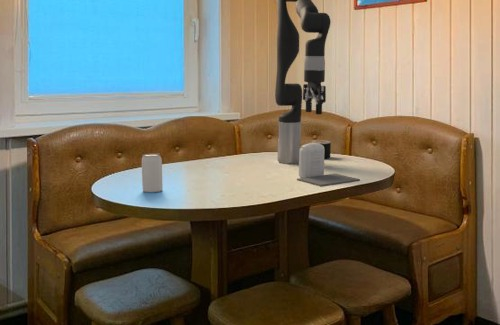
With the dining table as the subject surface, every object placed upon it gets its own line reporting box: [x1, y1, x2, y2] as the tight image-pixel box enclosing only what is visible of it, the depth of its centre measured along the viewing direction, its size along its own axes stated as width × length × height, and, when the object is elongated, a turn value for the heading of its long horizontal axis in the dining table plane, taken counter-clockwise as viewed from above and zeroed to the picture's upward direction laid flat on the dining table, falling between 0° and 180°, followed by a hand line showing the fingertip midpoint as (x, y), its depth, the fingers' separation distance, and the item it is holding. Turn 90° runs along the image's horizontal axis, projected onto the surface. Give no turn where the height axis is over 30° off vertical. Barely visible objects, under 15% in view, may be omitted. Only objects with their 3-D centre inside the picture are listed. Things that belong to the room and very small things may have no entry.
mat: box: [296, 173, 361, 187], centre depth 196 cm, size 13×18×1 cm
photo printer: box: [298, 142, 325, 178], centre depth 203 cm, size 10×4×12 cm, turn 123°
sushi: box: [311, 139, 332, 160], centre depth 246 cm, size 8×8×8 cm
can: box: [141, 152, 164, 193], centre depth 179 cm, size 6×6×12 cm
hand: (313, 113), depth 204 cm, fingers open, 8 cm apart
